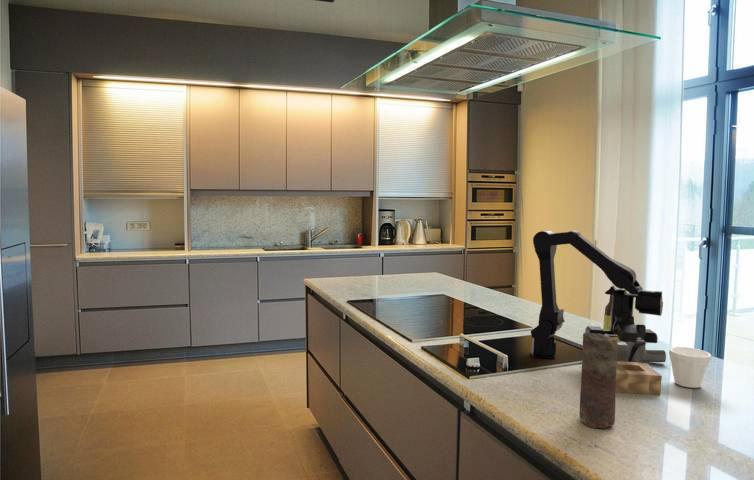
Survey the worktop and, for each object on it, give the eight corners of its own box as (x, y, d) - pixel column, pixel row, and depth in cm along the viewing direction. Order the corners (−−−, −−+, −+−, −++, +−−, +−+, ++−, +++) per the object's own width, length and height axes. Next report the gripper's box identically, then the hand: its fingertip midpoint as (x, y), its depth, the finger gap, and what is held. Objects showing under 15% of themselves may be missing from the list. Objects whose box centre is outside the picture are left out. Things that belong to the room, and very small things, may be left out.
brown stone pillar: (572, 415, 124) (577, 330, 123) (603, 415, 125) (608, 330, 123) (588, 430, 117) (593, 339, 115) (621, 429, 117) (626, 339, 116)
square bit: (613, 371, 158) (615, 344, 157) (610, 367, 161) (611, 341, 161) (626, 372, 157) (628, 345, 157) (622, 368, 161) (624, 342, 160)
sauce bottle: (612, 349, 181) (615, 290, 180) (597, 344, 187) (601, 287, 185) (626, 347, 184) (630, 289, 182) (611, 343, 189) (615, 286, 188)
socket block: (615, 391, 141) (616, 372, 140) (603, 377, 152) (604, 360, 151) (660, 394, 140) (661, 375, 139) (644, 380, 150) (646, 362, 150)
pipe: (667, 366, 164) (669, 340, 163) (622, 363, 166) (623, 337, 166) (661, 361, 170) (662, 336, 169) (617, 357, 172) (619, 332, 172)
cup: (703, 381, 151) (706, 349, 150) (713, 393, 141) (715, 359, 141) (663, 377, 154) (666, 345, 153) (670, 388, 145) (672, 354, 144)
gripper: (596, 315, 151) (593, 369, 152) (667, 318, 149) (663, 374, 150) (586, 307, 162) (583, 358, 163) (651, 310, 160) (648, 362, 161)
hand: (618, 363), depth 159 cm, fingers open, 5 cm apart
